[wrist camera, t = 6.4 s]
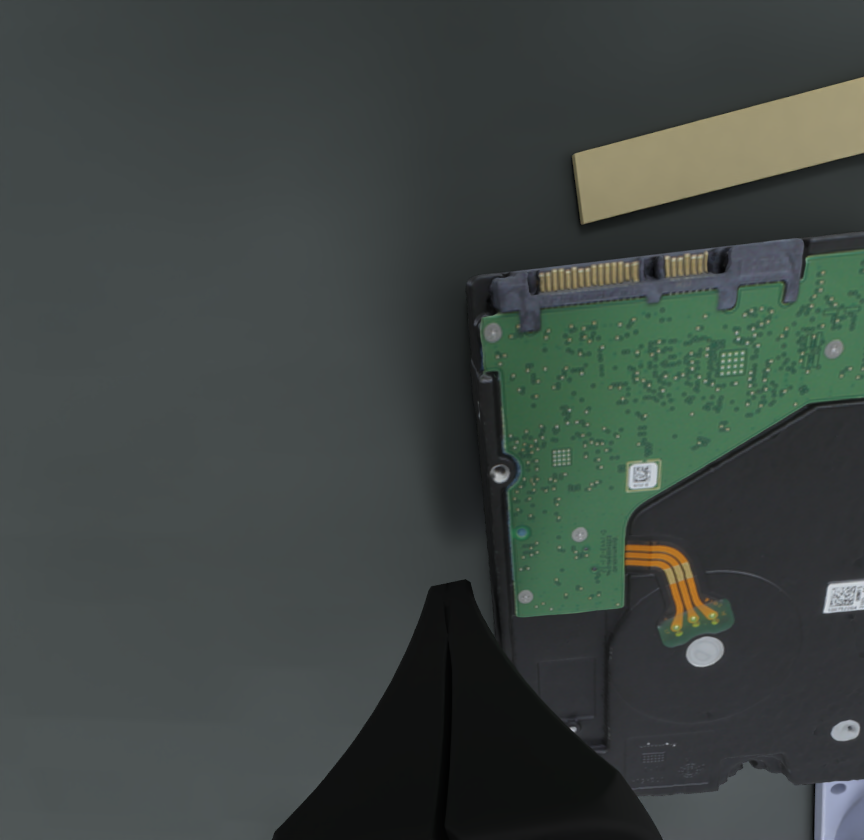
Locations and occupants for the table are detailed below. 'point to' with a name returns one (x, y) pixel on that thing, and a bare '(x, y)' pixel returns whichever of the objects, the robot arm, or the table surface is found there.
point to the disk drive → (682, 503)
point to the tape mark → (721, 151)
